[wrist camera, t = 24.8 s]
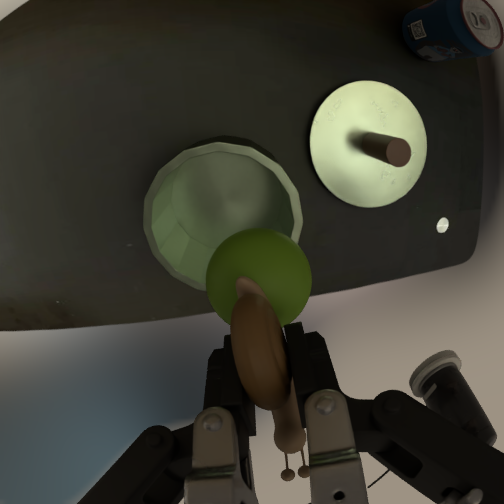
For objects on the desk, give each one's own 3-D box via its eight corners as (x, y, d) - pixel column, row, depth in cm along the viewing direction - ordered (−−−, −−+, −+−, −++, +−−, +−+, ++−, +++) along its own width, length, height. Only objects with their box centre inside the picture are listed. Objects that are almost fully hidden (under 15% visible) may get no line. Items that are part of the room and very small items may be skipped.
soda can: (434, 14, 23) (494, -5, 12) (448, 63, 26) (514, 58, 15) (390, 11, 23) (446, -18, 12) (406, 63, 26) (470, 52, 15)
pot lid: (425, 195, 33) (457, 213, 27) (318, 215, 34) (335, 239, 28) (413, 79, 27) (448, 76, 21) (295, 87, 28) (309, 80, 22)
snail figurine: (237, 316, 20) (232, 490, 9) (196, 232, 17) (135, 411, 7) (315, 291, 19) (368, 462, 8) (286, 200, 17) (352, 364, 6)
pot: (297, 240, 36) (311, 276, 28) (185, 263, 36) (172, 304, 29) (274, 124, 30) (285, 126, 22) (151, 154, 31) (123, 168, 23)
